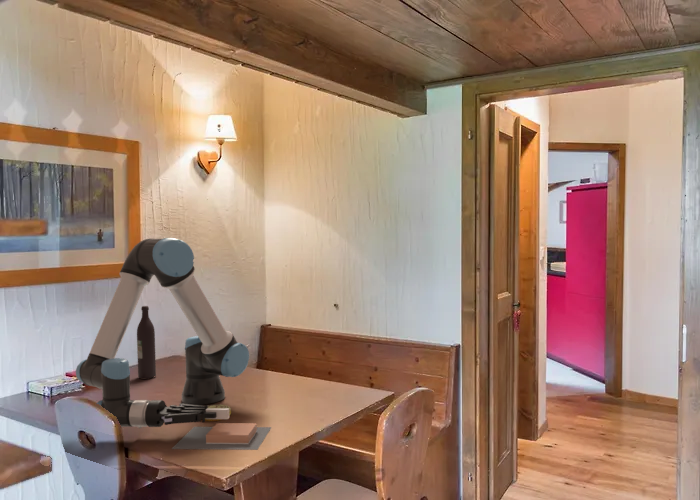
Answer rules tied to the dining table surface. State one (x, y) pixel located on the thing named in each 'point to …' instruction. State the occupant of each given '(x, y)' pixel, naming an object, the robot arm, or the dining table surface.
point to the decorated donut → (218, 407)
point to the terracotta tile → (231, 433)
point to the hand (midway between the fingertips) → (228, 413)
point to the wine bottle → (146, 346)
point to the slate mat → (198, 441)
